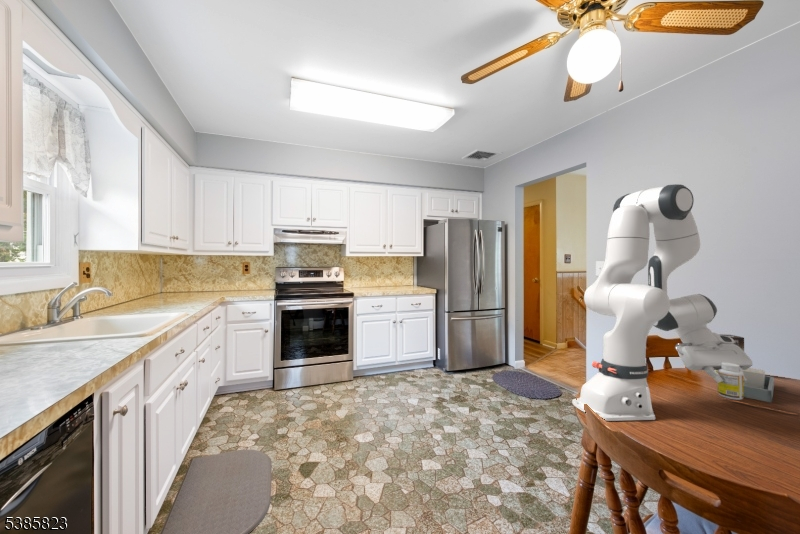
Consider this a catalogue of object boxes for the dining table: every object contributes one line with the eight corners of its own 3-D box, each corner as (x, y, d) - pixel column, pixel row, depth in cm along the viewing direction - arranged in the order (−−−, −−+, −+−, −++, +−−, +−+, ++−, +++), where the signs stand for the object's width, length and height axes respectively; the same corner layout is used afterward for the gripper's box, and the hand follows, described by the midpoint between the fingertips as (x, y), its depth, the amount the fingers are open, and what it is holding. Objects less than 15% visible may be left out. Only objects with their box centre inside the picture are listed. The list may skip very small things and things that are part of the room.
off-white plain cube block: (763, 391, 110) (763, 374, 110) (734, 386, 115) (734, 369, 115) (765, 387, 114) (764, 370, 114) (736, 381, 119) (736, 365, 119)
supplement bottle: (730, 393, 104) (730, 361, 104) (748, 400, 98) (748, 366, 98) (712, 393, 104) (712, 361, 104) (730, 400, 98) (730, 366, 98)
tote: (771, 405, 101) (771, 391, 101) (722, 395, 110) (722, 382, 110) (773, 389, 114) (773, 377, 114) (729, 381, 122) (729, 369, 122)
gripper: (678, 338, 107) (707, 377, 98) (736, 337, 108) (771, 376, 98) (666, 348, 112) (693, 386, 102) (723, 347, 113) (755, 385, 103)
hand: (732, 381), depth 100 cm, fingers closed on supplement bottle, 6 cm apart
